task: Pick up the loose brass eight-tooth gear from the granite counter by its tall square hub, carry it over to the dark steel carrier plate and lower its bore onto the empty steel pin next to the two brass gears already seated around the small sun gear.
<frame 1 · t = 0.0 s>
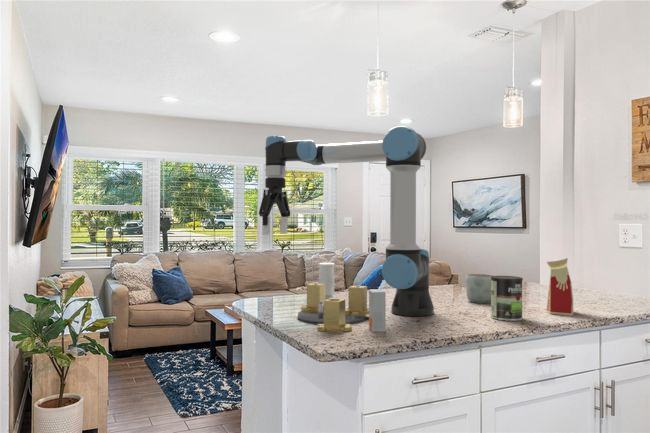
hand: (275, 234, 195), 28 cm above the worktop, fingers open, 13 cm apart
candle: (326, 299, 219), on the worktop
carrier: (331, 317, 177), on the worktop
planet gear: (334, 329, 158), on the worktop
planter: (481, 302, 213), on the worktop
skincare box: (377, 330, 158), on the worktop
coffee can: (506, 318, 177), on the worktop
red tall pouch: (559, 313, 188), on the worktop
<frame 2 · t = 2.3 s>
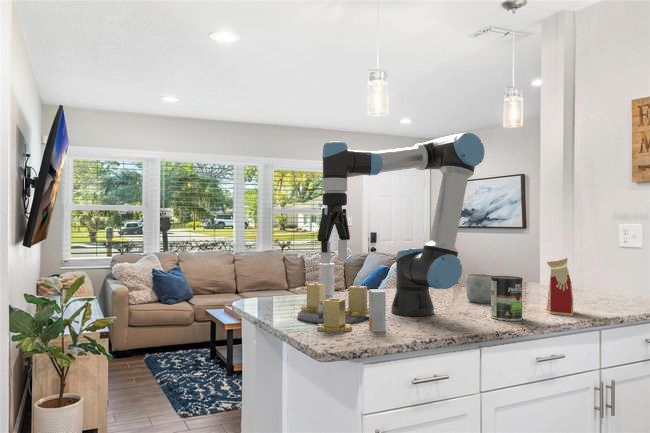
hand: (334, 262, 158), 21 cm above the worktop, fingers open, 13 cm apart
nothing on the worktop moved.
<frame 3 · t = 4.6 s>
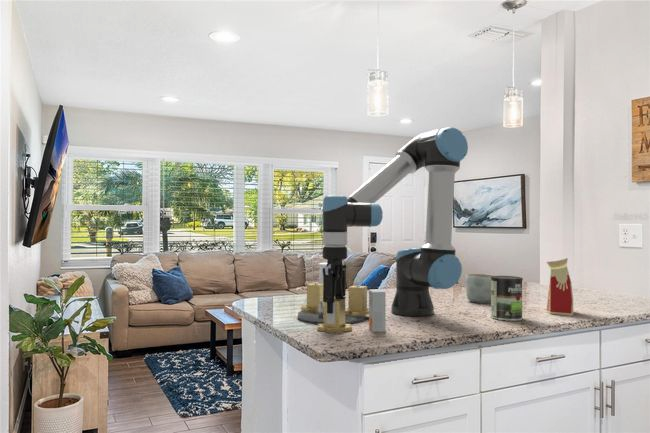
hand: (334, 322, 158), 2 cm above the worktop, fingers closed on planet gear, 5 cm apart
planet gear: (334, 329, 158), on the worktop, touching gripper
everything else where it was.
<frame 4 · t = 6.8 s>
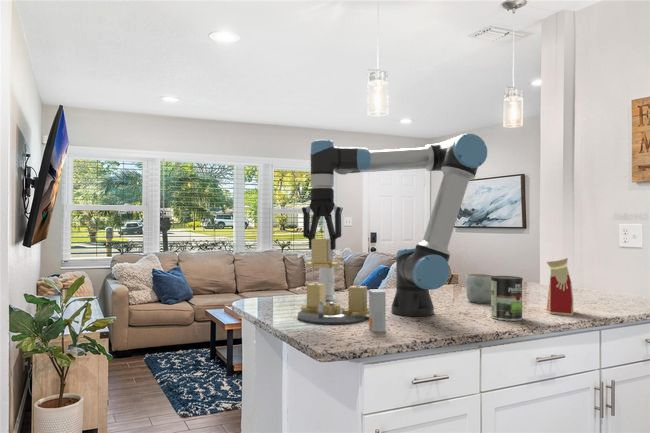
hand: (322, 259, 168), 21 cm above the worktop, fingers closed on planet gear, 5 cm apart
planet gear: (322, 266, 168), point 18 cm above the worktop, touching gripper
everything else where it was.
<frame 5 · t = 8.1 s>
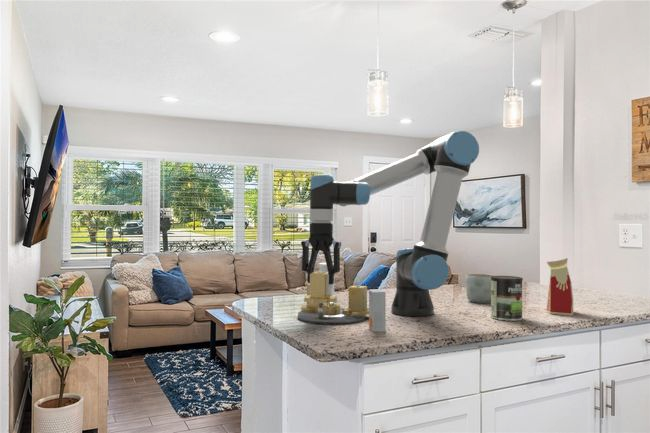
hand: (320, 293, 169), 9 cm above the worktop, fingers closed on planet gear, 5 cm apart
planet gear: (320, 300, 169), point 7 cm above the worktop, touching gripper
everything else where it was.
when the fingers open (5 cm above the worktop, at t = 9.2 s): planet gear drops 1 cm, resting on carrier.
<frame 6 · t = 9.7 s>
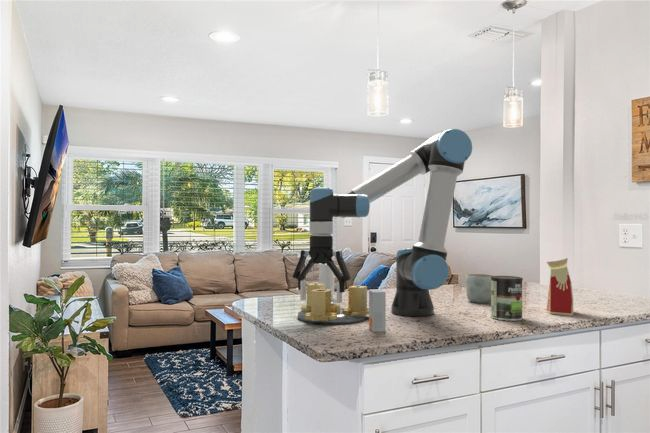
hand: (321, 301, 169), 7 cm above the worktop, fingers open, 12 cm apart
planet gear: (321, 318, 169), point 1 cm above the worktop, touching carrier
everything else where it was.
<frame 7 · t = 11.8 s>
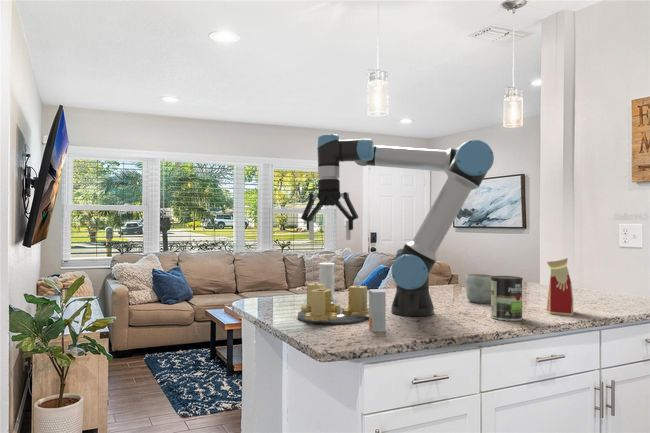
hand: (329, 240, 181), 26 cm above the worktop, fingers open, 13 cm apart
nothing on the worktop moved.
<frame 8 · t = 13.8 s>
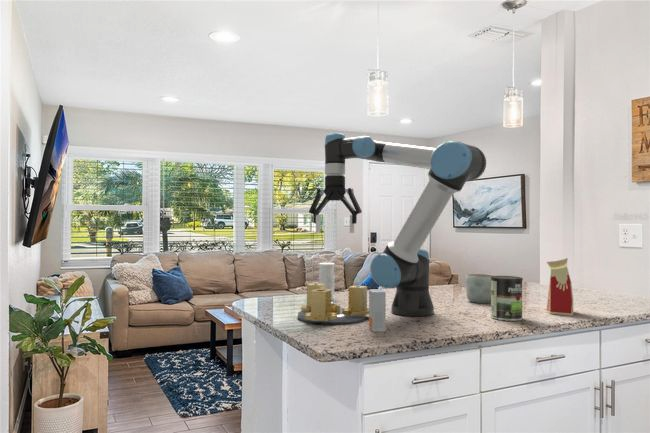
hand: (334, 232, 193), 29 cm above the worktop, fingers open, 13 cm apart
nothing on the worktop moved.
at the end: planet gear 0.1 cm from the target spot on the carrier, point 1.5 cm above the carrier's base; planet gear tilted 0°; the gripper is holding nothing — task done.
